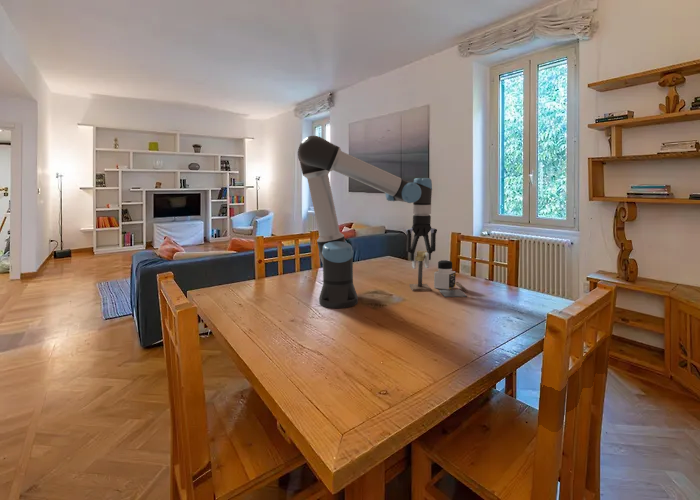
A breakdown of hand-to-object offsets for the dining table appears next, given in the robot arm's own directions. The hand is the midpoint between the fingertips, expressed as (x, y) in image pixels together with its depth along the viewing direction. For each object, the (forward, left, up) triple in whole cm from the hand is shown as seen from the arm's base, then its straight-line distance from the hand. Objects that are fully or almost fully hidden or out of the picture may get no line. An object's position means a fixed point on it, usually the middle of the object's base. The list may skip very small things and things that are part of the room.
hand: (420, 267), depth 167 cm
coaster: (+12, -9, -9) cm, 18 cm away
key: (+2, +3, +3) cm, 5 cm away
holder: (+8, 0, -9) cm, 12 cm away
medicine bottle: (+11, 0, -9) cm, 14 cm away
